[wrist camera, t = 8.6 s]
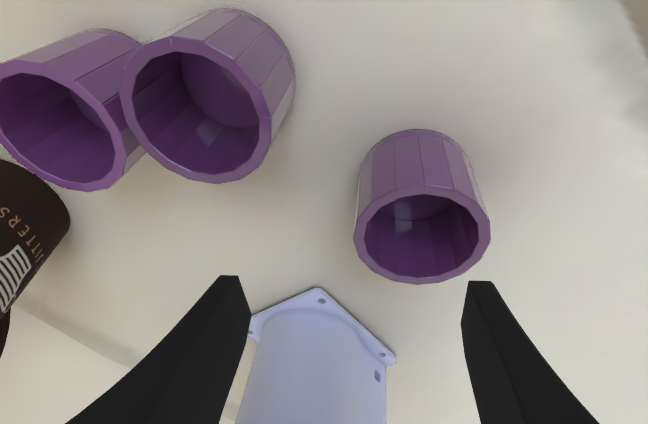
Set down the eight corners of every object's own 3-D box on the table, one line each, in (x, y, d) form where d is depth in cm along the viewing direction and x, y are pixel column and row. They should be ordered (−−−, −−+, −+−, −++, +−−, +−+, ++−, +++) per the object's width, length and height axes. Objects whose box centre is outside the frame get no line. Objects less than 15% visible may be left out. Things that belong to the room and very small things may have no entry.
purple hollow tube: (488, 189, 19) (513, 255, 15) (396, 233, 21) (398, 298, 18) (434, 106, 16) (448, 160, 13) (338, 166, 19) (327, 225, 15)
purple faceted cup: (199, 101, 18) (152, 149, 14) (137, 158, 20) (84, 211, 17) (100, 0, 15) (13, 25, 12) (44, 77, 18) (-41, 118, 14)
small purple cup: (320, 87, 17) (302, 136, 13) (239, 150, 19) (205, 204, 15) (232, -24, 14) (181, -3, 11) (153, 62, 17) (91, 103, 13)
